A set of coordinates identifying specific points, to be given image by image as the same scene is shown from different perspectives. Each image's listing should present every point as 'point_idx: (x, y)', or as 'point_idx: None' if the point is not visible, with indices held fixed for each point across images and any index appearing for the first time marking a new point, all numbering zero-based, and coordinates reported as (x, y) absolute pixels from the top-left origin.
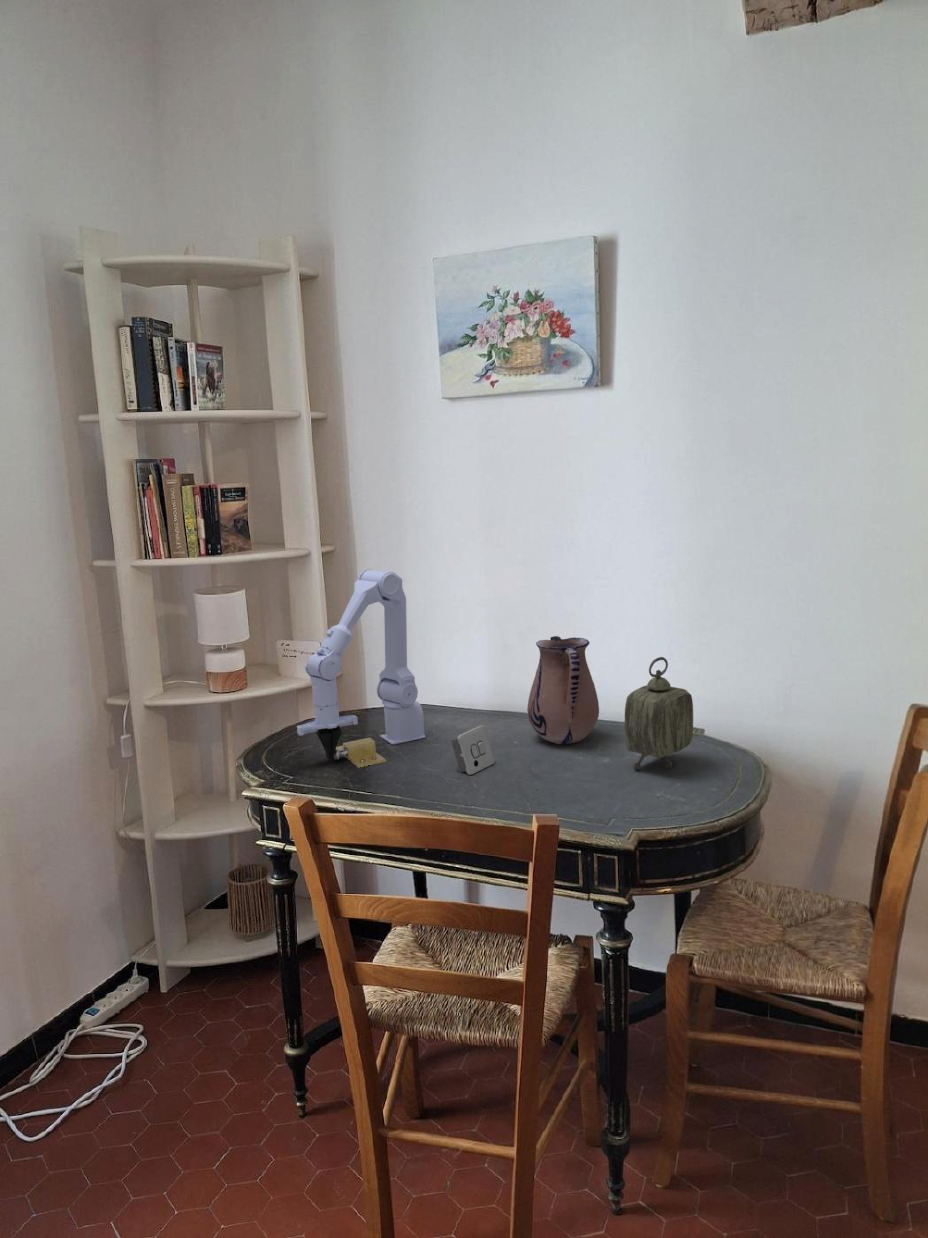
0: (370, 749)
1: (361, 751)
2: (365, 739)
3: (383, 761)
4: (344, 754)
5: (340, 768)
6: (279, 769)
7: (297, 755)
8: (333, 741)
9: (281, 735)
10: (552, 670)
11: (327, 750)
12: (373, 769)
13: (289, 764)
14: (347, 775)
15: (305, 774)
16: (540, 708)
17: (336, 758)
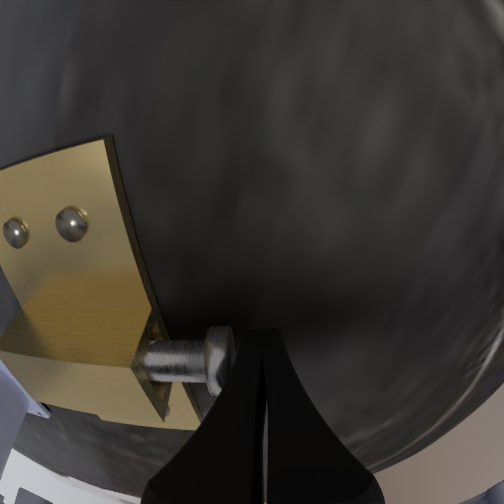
0: (30, 323)
1: (69, 325)
2: (44, 395)
3: None
4: (171, 344)
5: (238, 194)
6: (486, 333)
7: (355, 423)
8: (241, 435)
9: None
10: None
11: (297, 378)
12: (35, 73)
13: (432, 367)
14: (229, 16)
15: (466, 216)
16: None
17: (229, 330)
